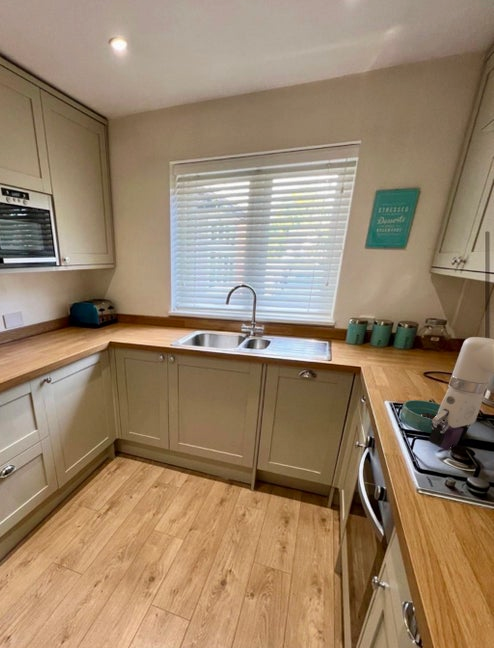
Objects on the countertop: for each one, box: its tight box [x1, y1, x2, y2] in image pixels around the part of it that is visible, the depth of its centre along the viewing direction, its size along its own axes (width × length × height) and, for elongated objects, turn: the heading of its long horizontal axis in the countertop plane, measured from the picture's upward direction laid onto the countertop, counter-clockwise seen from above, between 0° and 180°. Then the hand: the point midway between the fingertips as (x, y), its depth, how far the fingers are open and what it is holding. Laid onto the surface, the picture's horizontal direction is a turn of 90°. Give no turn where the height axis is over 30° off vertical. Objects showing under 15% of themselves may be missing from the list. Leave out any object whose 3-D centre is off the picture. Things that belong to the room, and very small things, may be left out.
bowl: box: [399, 399, 448, 434], centre depth 106 cm, size 15×15×5 cm
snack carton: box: [430, 421, 463, 451], centre depth 94 cm, size 4×4×6 cm
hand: (446, 440), depth 94 cm, fingers open, 9 cm apart
